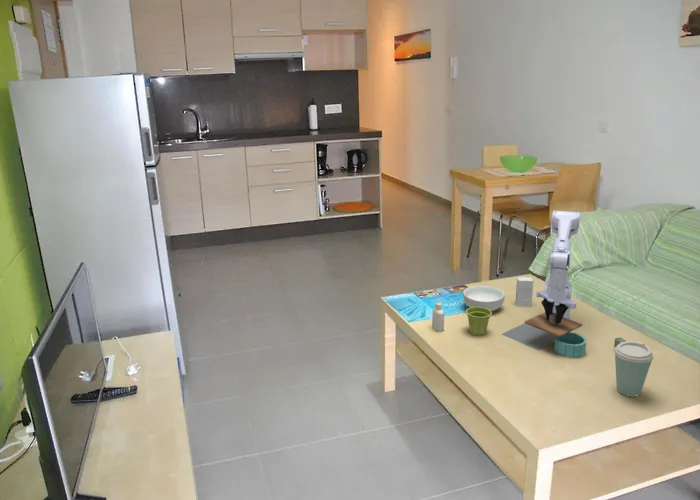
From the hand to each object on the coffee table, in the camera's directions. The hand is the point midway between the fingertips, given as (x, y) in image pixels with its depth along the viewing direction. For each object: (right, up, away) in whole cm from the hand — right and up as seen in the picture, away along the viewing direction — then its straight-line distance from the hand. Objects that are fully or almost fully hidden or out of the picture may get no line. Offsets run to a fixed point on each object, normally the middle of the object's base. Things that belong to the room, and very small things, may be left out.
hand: (553, 320), depth 194 cm
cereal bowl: (-17, +1, +34) cm, 38 cm away
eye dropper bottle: (-39, -5, +17) cm, 42 cm away
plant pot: (-24, -6, +13) cm, 28 cm away
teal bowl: (+5, -10, -2) cm, 12 cm away
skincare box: (0, +2, +36) cm, 36 cm away
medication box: (+24, -11, -6) cm, 27 cm away
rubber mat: (-5, -7, +9) cm, 12 cm away
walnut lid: (0, -1, 0) cm, 1 cm away
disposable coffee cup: (+13, -18, -26) cm, 35 cm away
